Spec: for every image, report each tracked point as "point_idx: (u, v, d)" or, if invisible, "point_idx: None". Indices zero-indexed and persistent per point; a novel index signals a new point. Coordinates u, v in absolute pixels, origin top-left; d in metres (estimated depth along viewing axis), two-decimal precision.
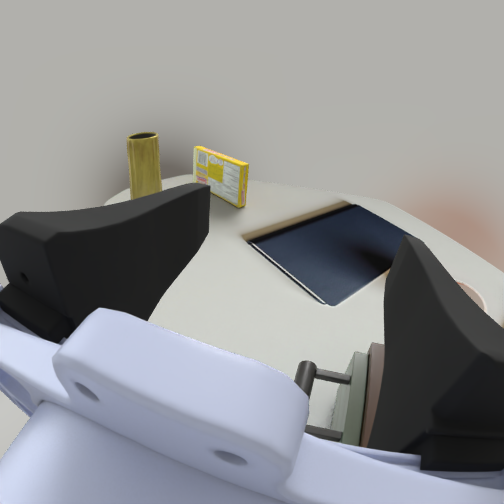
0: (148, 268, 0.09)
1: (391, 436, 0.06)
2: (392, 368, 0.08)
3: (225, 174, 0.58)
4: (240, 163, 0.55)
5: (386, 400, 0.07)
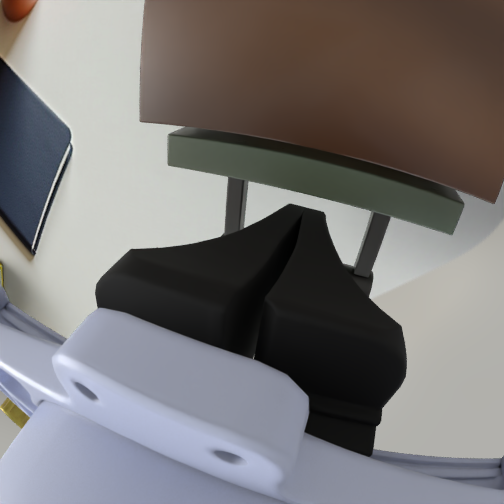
0: None
1: None
2: None
3: None
4: None
5: None
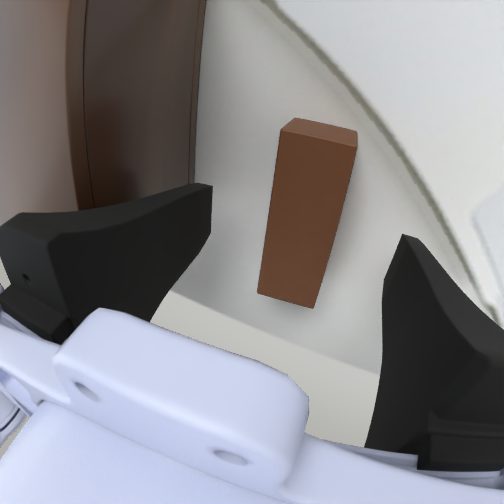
0: (150, 269, 0.09)
1: (388, 436, 0.06)
2: (390, 367, 0.08)
3: None
4: None
5: (384, 400, 0.07)
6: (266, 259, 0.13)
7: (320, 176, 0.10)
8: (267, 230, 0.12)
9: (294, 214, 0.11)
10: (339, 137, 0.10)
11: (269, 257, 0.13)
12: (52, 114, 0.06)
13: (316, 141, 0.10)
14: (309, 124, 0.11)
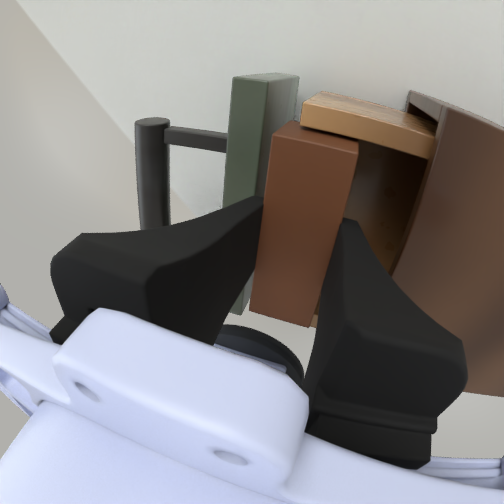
0: (221, 291, 0.09)
1: None
2: (314, 349, 0.08)
3: None
4: None
5: (305, 381, 0.08)
6: (258, 276, 0.12)
7: (317, 187, 0.09)
8: (258, 245, 0.11)
9: (288, 229, 0.10)
10: (338, 143, 0.09)
11: (261, 274, 0.12)
12: None
13: (312, 147, 0.09)
14: (305, 128, 0.10)
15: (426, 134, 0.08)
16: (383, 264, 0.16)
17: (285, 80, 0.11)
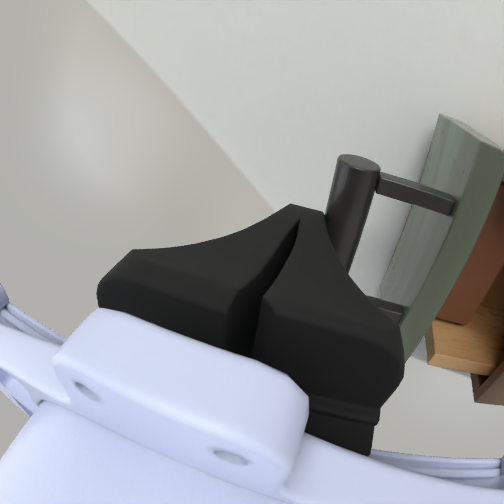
0: None
1: None
2: None
3: None
4: None
5: None
6: None
7: None
8: None
9: (480, 249, 0.11)
10: None
11: None
12: None
13: None
14: None
15: None
16: (499, 303, 0.14)
17: None
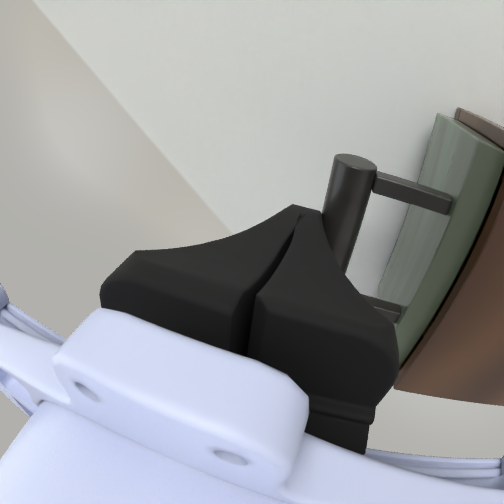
0: None
1: None
2: None
3: None
4: None
5: None
6: None
7: None
8: None
9: None
10: None
11: None
12: None
13: None
14: None
15: None
16: None
17: (482, 137, 0.09)
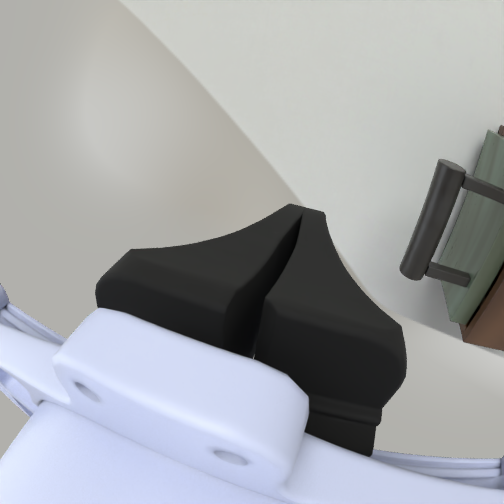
0: None
1: None
2: None
3: None
4: None
5: None
6: None
7: None
8: None
9: None
10: None
11: None
12: None
13: None
14: None
15: None
16: None
17: None
